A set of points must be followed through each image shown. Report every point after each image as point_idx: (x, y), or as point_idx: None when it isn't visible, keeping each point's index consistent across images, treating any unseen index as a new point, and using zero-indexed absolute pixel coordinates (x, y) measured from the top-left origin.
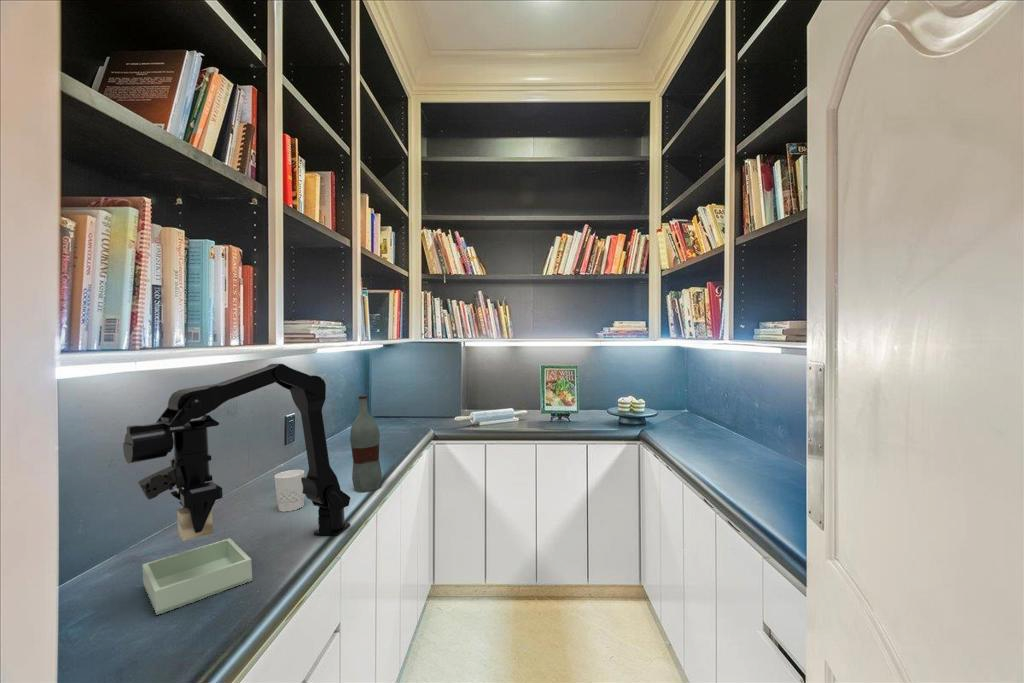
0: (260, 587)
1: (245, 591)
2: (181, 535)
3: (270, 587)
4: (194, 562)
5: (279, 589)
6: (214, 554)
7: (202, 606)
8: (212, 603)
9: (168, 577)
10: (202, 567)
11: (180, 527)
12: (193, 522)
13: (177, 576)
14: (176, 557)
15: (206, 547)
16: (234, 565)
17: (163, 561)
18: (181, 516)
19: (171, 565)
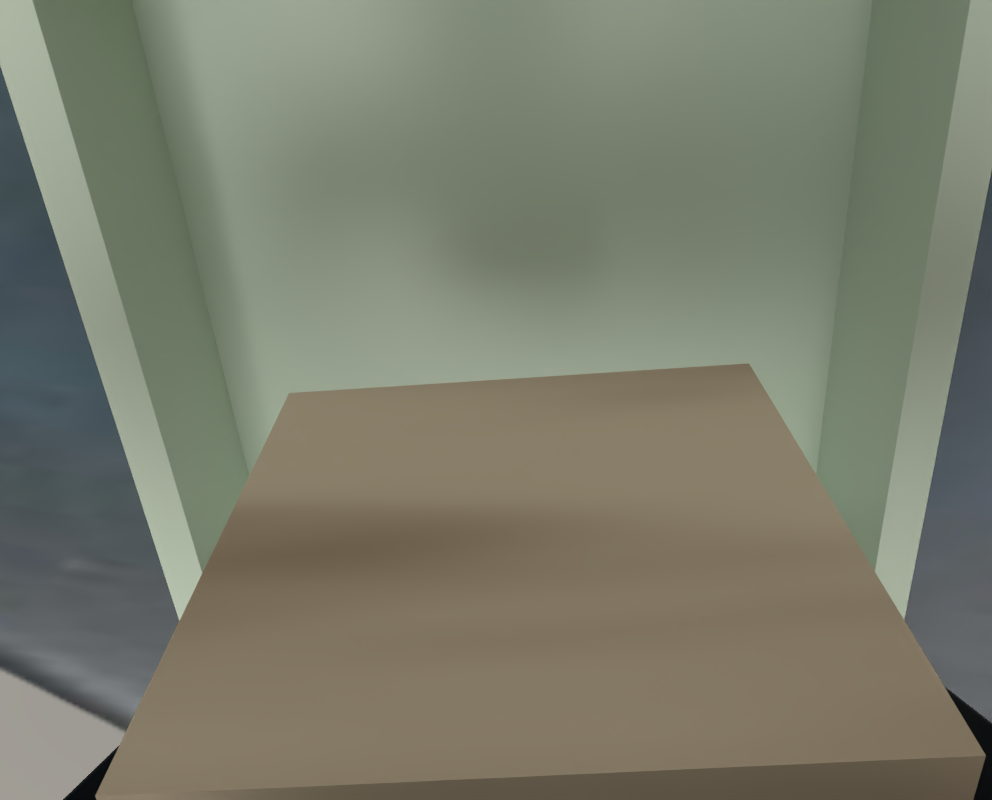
0: (121, 582)
1: (121, 508)
2: (406, 418)
3: (80, 622)
4: (853, 321)
5: (15, 650)
6: (838, 479)
7: (56, 253)
8: (64, 316)
9: (819, 81)
10: (767, 353)
11: (471, 492)
12: (108, 762)
13: (765, 155)
14: (922, 203)
15: (884, 475)
16: (172, 585)
17: (947, 65)
18: (205, 747)
19: (899, 134)
